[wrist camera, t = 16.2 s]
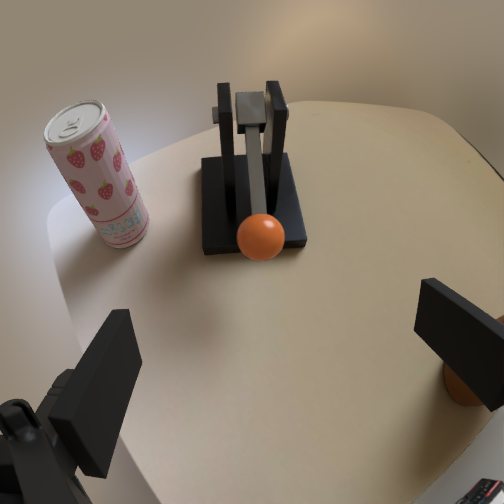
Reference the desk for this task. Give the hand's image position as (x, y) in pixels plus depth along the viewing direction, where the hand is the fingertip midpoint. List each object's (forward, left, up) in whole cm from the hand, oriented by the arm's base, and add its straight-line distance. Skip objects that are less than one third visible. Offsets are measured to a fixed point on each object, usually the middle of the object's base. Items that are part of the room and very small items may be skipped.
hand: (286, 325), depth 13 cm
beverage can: (-16, +13, -15) cm, 26 cm away
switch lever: (-2, +14, -7) cm, 16 cm away
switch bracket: (-3, +17, -15) cm, 23 cm away
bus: (+20, -18, -15) cm, 31 cm away
